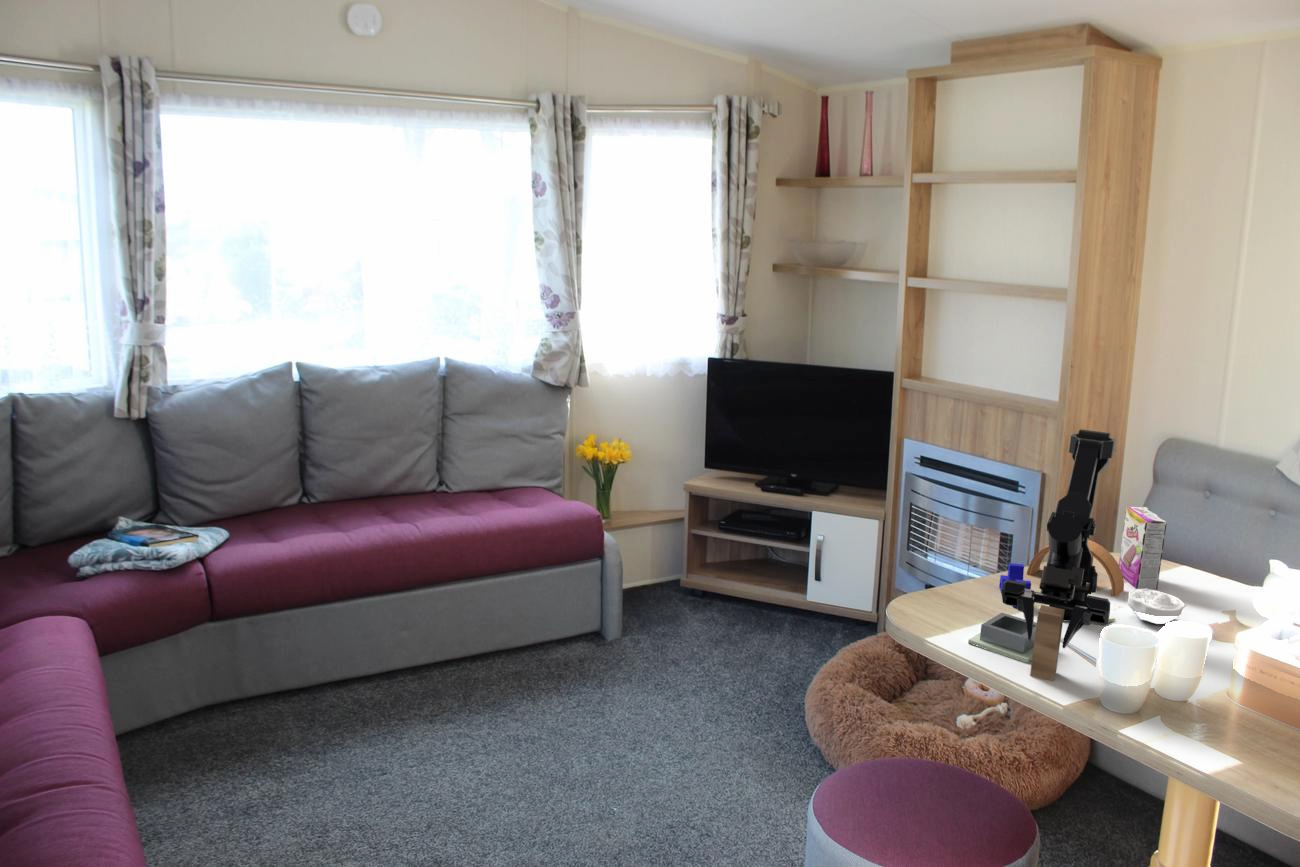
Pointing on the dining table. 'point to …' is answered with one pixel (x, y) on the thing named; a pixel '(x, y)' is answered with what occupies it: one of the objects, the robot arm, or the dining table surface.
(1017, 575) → the cable clip
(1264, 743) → the dining table surface
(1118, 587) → the arch
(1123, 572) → the candy bar box
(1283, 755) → the dining table surface
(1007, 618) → the steel collar
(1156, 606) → the cell model
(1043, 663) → the walnut post
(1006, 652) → the base plate
